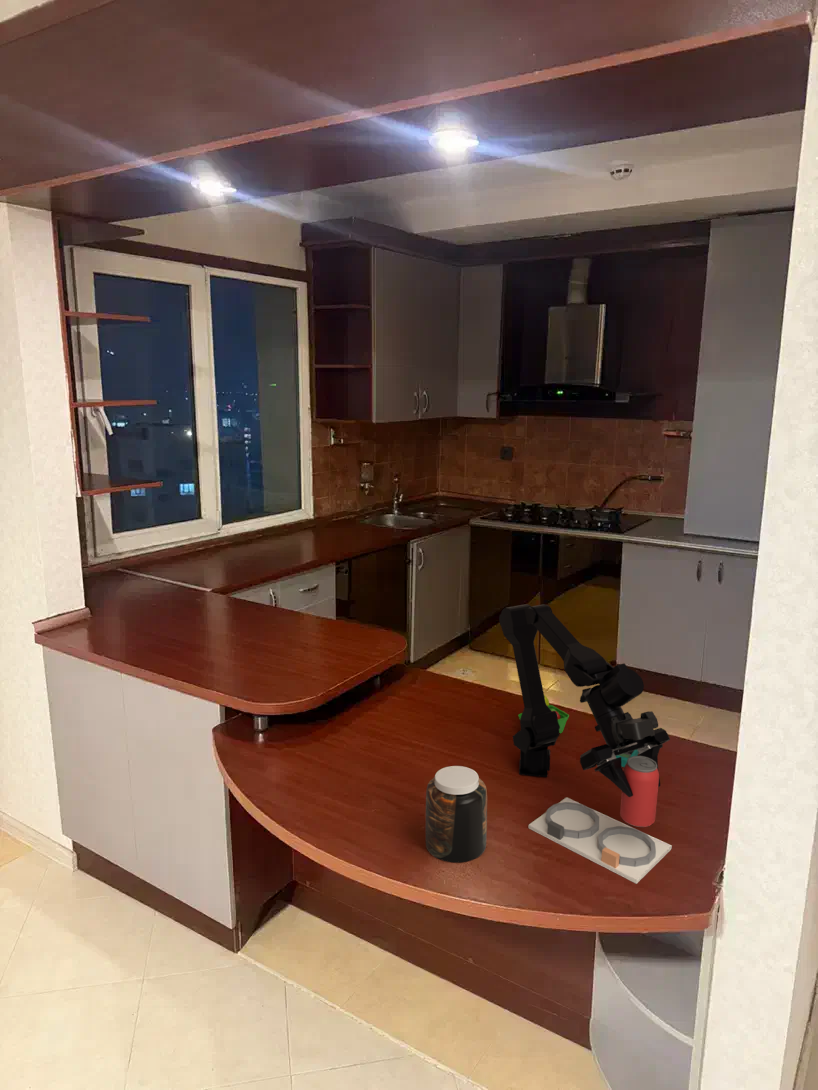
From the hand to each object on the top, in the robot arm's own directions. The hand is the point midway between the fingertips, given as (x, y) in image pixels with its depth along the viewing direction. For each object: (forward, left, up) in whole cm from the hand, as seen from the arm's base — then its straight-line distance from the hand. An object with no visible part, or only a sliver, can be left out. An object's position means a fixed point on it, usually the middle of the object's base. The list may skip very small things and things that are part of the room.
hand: (644, 791), depth 141 cm
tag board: (-8, +3, -13) cm, 16 cm away
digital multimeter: (+1, +40, -14) cm, 42 cm away
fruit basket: (-19, +47, -14) cm, 52 cm away
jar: (-36, -3, -13) cm, 38 cm away
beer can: (-1, +1, -7) cm, 7 cm away
